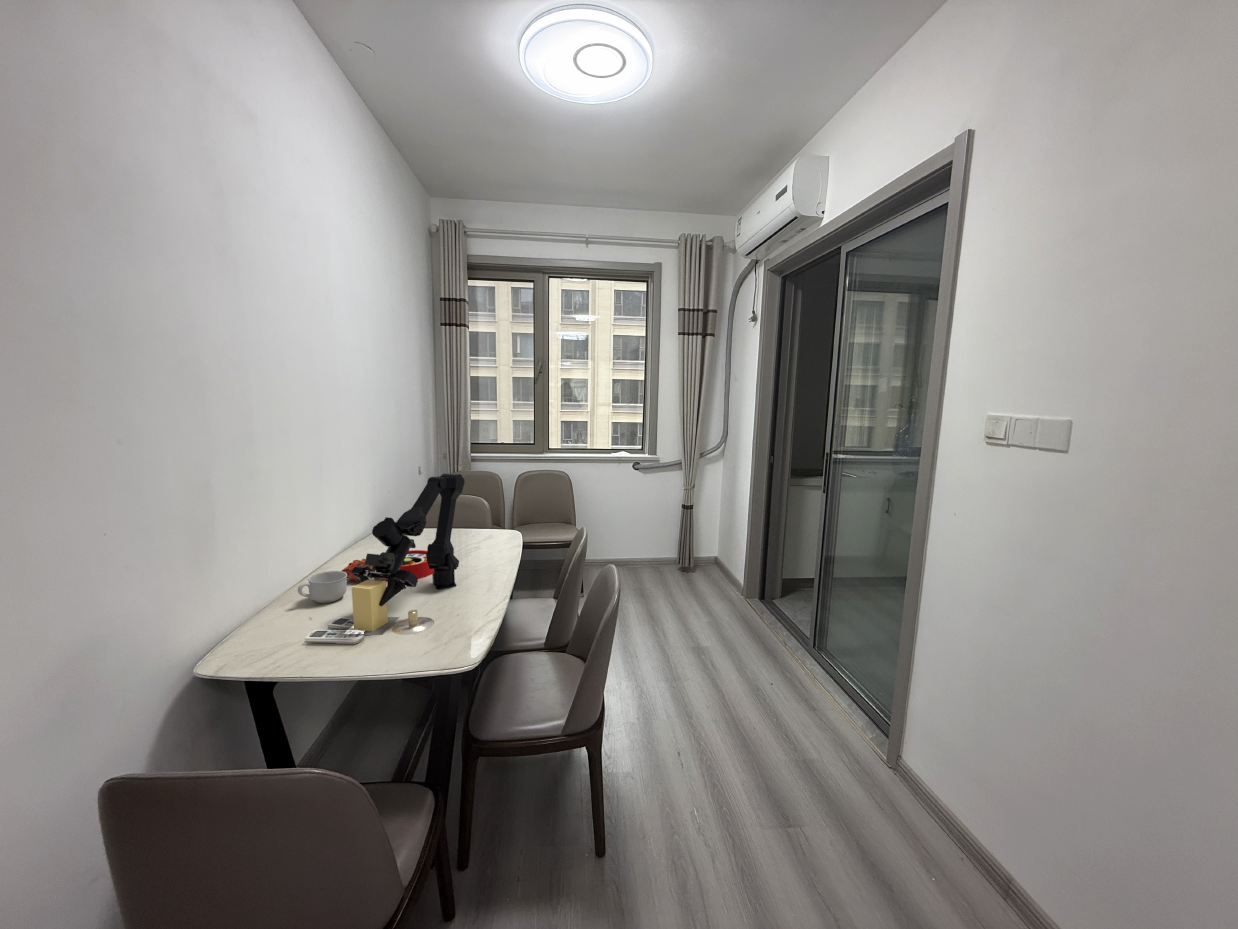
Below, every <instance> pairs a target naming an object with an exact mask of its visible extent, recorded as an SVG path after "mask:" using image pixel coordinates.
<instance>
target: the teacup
mask: <svg viewBox="0 0 1238 929" xmlns="http://www.w3.org/2000/svg"><path fill="white" fill-rule="evenodd" d="M307 580H308V582H302V583H301V584H299V585H298V586H297V587H298V588H297V593H298V594H299V595H300V596H302V597H304V598H308V599H309V600H313V601H314V602H317V603H319V604H328V603H334V602H337V601H338V600H340V599H341V598H342V597H343V596H344V595H345V594H346V593H347V585H348V581H347V573H346V572H343V571H342V570H325V571H320V572H317V573H313V574H311V575H310V576H308V579H307ZM304 587H307V588H308V593H304V592H303V588H304Z"/></svg>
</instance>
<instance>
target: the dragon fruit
mask: <svg viewBox="0 0 1238 929" xmlns="http://www.w3.org/2000/svg"><path fill="white" fill-rule="evenodd" d="M365 559H366V558H362V559H361V560H359V559H354V560H352V562H349V563H348V565H347V566H346V567H344V568H343V569H342V570H341V571H343V572H346V573H347V582H348V581H349V582H350V581H351V582H355V583H357V584H359V583H361V581H360V580H359V579H357V578H356V577H355V576H353V575H352V574H351V571H352V570H353V568H354V567H355V566H357V565H359V566H367V567H369V568H370V569H371V570H372V571H376V569H373V568H372V566H373V565H364V563H365Z"/></svg>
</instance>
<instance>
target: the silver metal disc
mask: <svg viewBox="0 0 1238 929" xmlns="http://www.w3.org/2000/svg"><path fill="white" fill-rule="evenodd" d="M407 616H408V618H406V619H403V620H400V621H397V622H396V623H394V624H393V626H392V627H391V631H392V632H393V633H394V634H397V635H404V636H405V635H408V636H409V635H414V634H420V633H423V632H426V631H428V630H429V629H431V628H432V627H434V625H435V620H434V619H433V618H431V617H428V616H419V614H418V610H417V609H412V610H408V611H407Z"/></svg>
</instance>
